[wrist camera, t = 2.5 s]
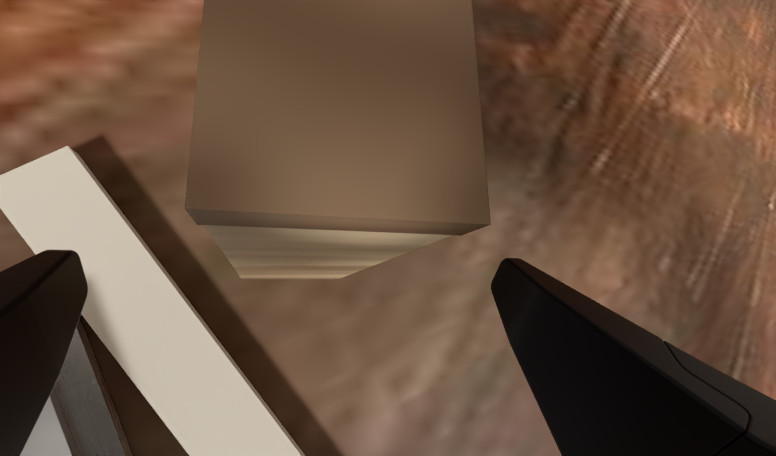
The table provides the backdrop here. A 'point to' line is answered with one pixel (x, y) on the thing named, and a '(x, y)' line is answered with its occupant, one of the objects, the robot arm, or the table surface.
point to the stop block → (335, 132)
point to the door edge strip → (142, 312)
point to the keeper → (78, 411)
